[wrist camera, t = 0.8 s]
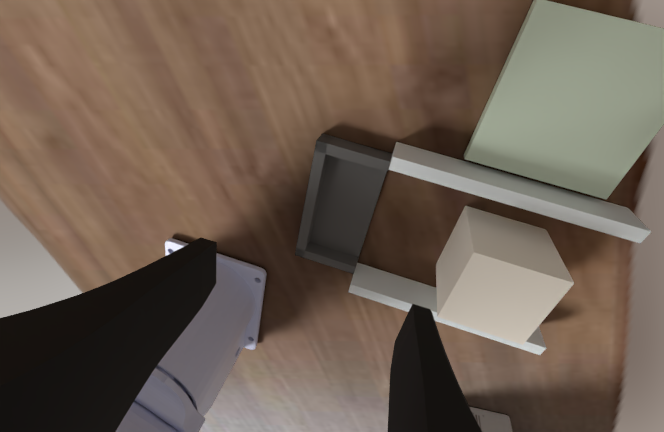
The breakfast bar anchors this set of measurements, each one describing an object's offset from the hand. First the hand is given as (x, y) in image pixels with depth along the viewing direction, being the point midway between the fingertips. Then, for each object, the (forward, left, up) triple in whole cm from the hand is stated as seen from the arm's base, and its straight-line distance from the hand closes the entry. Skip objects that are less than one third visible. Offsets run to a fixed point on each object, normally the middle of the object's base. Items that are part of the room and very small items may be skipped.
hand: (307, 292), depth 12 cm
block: (-2, -9, -10) cm, 13 cm away
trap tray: (-2, 0, -9) cm, 10 cm away
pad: (+7, -9, -9) cm, 14 cm away
